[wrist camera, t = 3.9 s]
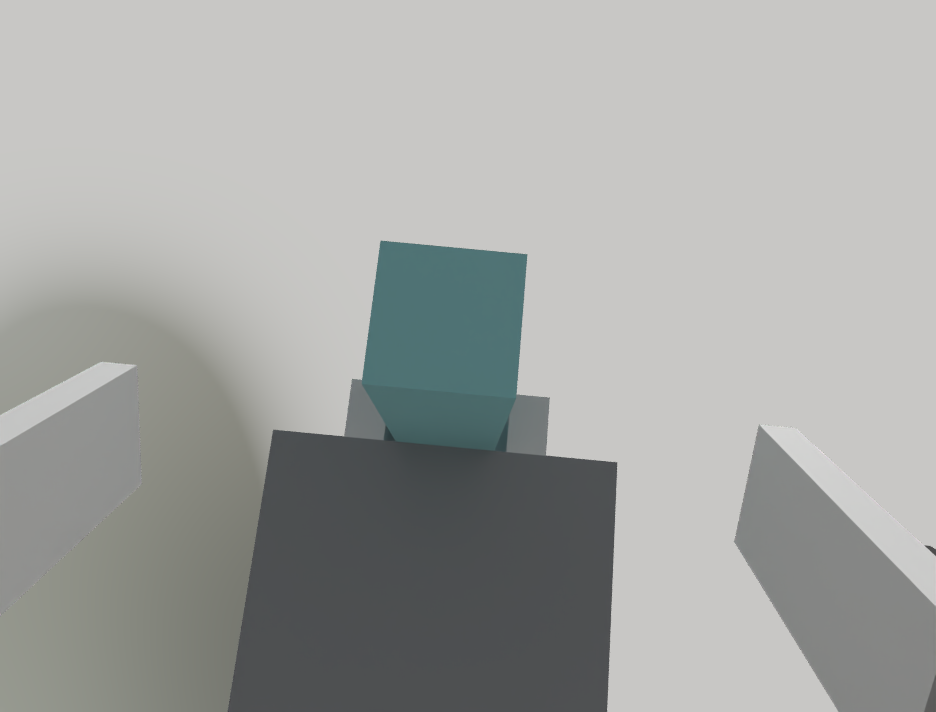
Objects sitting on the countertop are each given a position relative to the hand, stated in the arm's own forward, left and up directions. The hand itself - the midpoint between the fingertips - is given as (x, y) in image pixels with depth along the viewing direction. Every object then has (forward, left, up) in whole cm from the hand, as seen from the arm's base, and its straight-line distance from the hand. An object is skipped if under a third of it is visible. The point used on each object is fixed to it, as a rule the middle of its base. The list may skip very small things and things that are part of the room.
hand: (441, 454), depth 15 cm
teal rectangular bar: (-11, +11, +2) cm, 16 cm away
